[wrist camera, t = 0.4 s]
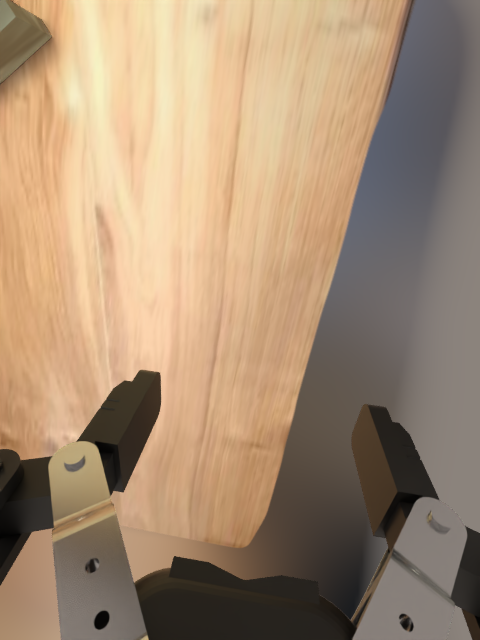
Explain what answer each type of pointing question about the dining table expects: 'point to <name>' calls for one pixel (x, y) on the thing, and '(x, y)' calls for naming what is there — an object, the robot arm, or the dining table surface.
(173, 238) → the dining table surface
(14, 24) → the dock
